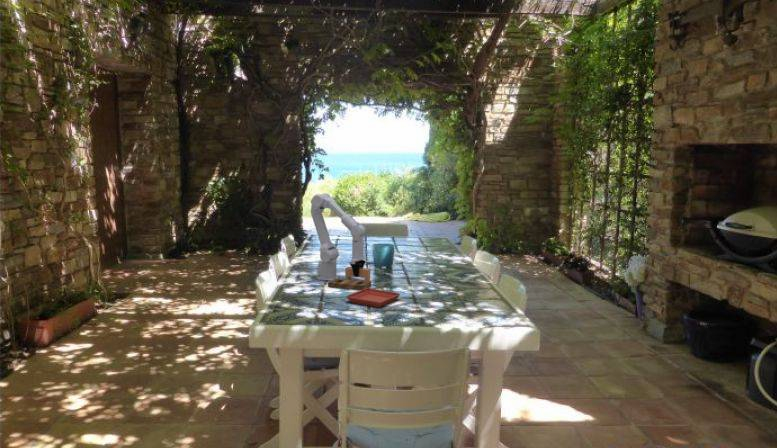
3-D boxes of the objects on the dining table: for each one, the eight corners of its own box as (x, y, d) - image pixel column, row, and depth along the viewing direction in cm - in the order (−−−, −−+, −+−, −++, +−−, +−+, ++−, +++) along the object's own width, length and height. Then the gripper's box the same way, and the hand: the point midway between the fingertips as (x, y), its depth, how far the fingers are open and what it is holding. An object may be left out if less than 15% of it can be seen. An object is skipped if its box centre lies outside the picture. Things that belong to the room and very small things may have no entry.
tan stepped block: (345, 281, 280) (345, 268, 279) (348, 280, 283) (348, 266, 282) (367, 284, 276) (367, 270, 275) (370, 282, 280) (370, 268, 279)
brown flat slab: (327, 287, 268) (327, 282, 268) (335, 283, 276) (335, 278, 276) (364, 291, 262) (364, 285, 262) (371, 286, 271) (371, 281, 270)
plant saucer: (367, 294, 258) (367, 287, 257) (401, 300, 249) (401, 293, 248) (345, 303, 242) (345, 296, 242) (380, 310, 233) (380, 302, 233)
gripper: (360, 252, 269) (360, 279, 271) (370, 247, 283) (370, 273, 285) (346, 250, 271) (346, 278, 273) (357, 246, 285) (357, 271, 287)
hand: (357, 275), depth 279 cm, fingers closed on tan stepped block, 4 cm apart
